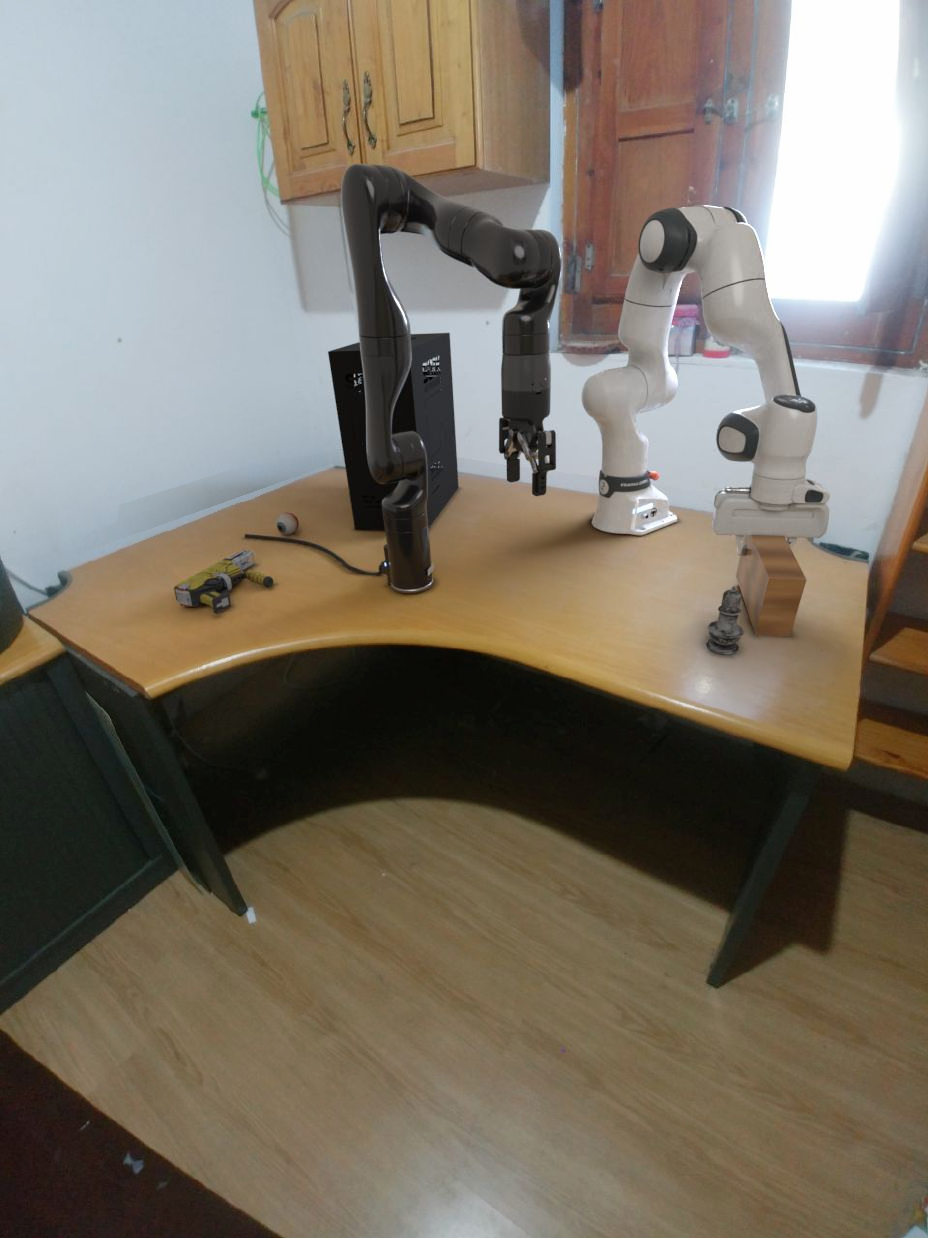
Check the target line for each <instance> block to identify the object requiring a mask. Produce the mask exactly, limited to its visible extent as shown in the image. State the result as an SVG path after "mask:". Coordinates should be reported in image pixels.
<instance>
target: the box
mask: <svg viewBox="0 0 928 1238" xmlns="http://www.w3.org/2000/svg"><path fill="white" fill-rule="evenodd" d="M742 545H746V547H747V552H746V556H739V561H738V565H737V570H736V574H735V577H736V578H735V579H736V580H737V583H738V584H737V585H738V587H739V590H740V593H741V597H742V599H743V602H744V605H745V608H746V611H747V614H748V617H749V620H750V624H751V627H752V629H753V632H754V633H753V634H754V635H759V636H760V635H762V636H775V637H776V636H777V637H791V635H792V634H791V633H792V631H793V628H794V624H795V621H796V617H797V613H798V610H799V607H800V604H801V600H802V596H803V594H804V590H805V586H806V583H807V581H808V580H807V578H806V575H805V573H804V571H803V570H802V568H801V566H800V563H799V561H798V560H797V558H796V556H795V554H794V552H793V549H792V547H791V548H790V546H789V544H788V542H787V538H786V537H785V536H768V535H751V536H744V538H743V540H742Z"/></svg>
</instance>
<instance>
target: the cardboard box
mask: <svg viewBox="0 0 928 1238" xmlns="http://www.w3.org/2000/svg"><path fill="white" fill-rule="evenodd" d="M411 349H412V351H411V352H412V362H411V367H410V370H409V373H408V376H407V378H406V381H405V383H404V385H403V388H402V390H401V392H400V394H399V396H398V399H397V401H396V404H395V407H394V411H393V417H392V433H397V432H401V431H407V430H411V431H414V432H416V433H417V434H418V435H419V436H420V437H421V439H422V441H423V443H424V446H425V450H426V456H427V477H428V498H427V502H426V507H427V519H428V529H429V528H431V526H432V524H433V523H434V522H435V520H436V519H437V517H438V516H439V515H440V513H441V512H442V511H443V510H444V508H445V507H446V506H447V504H448V503H449V501H450V500H451V499H452V497H453V496H454V495H455V494H456V492H457V491H458V490H459V488H460V487H459V471H458V455H457V454H458V453H457V438H456V437H457V436H456V421H455V418H456V417H455V404H454V403H455V401H454V384H453V383H454V382H453V369H452V367H453V366H452V349H451V333H450V332H435V333H434V332H433V333H432V332H431V333H411ZM327 355H328V361H329V367H330V374H331V382H332V388H333V395H334V401H335V408H336V414H337V420H338V427H339V433H340V440H341V447H342V455H343V460H344V465H345V466H344V467H345V474H346V480H347V486H348V487H347V488H348V493H349V500H350V507H351V513H352V520H353V527H354V530H358V531H359V530H360V531H361V530H363V531H384V532H385V527H384V519H383V512H382V500H383V499H384V497H385V496H387V495H388V494H389V493H390V492H391V491H393V490H394V488H395V487H396V486H397V484H398V483H399V481H398V482H394V483H390V484H379V483H378V482H376V481H375V479H374V478H373V476H372V474H371V472H370V469H369V465H368V460H367V449H366V400H365V388H364V377H363V367H362V360H361V352H360V341H358V342H355V343H351V344H348V345H345V346H342V347H339V348H335V349H331V350H330V351H327ZM424 364H426V365H424Z"/></svg>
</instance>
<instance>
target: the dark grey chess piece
mask: <svg viewBox="0 0 928 1238" xmlns="http://www.w3.org/2000/svg"><path fill="white" fill-rule="evenodd" d="M741 601H742V593H741V591H739V590H737V588H736V586H735V585H733V586H731V589H727V590H725V591H724V592H723V594H722V599H721V603H720V604H721V605H720V606H719V607H718V608H717V610H718V618H717V620H715V621H714V620H713V621H711V622H710V623H708V625H707V630H708V634H709V637H710V639H708V640H707V641H706V647H707V648H708V649H709V650H710V651H712V652H714V653H716V654H719V655H733V654H736V653H738V651H739V649H740V646H739V645H738V644H737V643H738V642H739V641H740V639H741V638H742V636H743V635H744V634H745V630H744V628H743V626H741V625H740V624H738V619H739V616H740V614H741V613H742V609H741V608H740V606H741Z"/></svg>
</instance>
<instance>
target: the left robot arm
mask: <svg viewBox="0 0 928 1238" xmlns="http://www.w3.org/2000/svg"><path fill="white" fill-rule="evenodd" d="M340 185H341V187H340V200H341V201H340V202H341V213H342V220H343V225H344V231H345V237H346V243H347V248H348V253H349V260H350V264H351V270H352V271H351V272H352V278H353V285H354V286H353V287H354V294H355V303H356V312H357V329H358V340H359V341H358V342H360V352H361V360H362V367H363V377H364V388H365V400H366V449H367V460H368V465H369V469H370V472H371V474H372V476H373V478H374V479H375V481H376V482H378V483H379V484H390V483H394V482H398V481H399V483H398V484H397V486H396V487H395V488H394V490H393V491H391V492H390V493H389V494H388V495H387V496H385V497H384V499H383V500H382V512H383V519H384V527H385V531H384V535H385V541H386V542H385V543H386V544H385V545H383V553H384V560H382V561H381V562H380V564H379V565H378V571H377V572H370V571H365V570H364V569H361V568H357V567H355V566H352V565H350V564H348V563H347V561H345V560H344V558H342V557H340V555H337V554H336V553H335V552H333V551H331V550H330V549H328V548H327V547H324V546H321V545H319V544H317V543H314V542H310V541H308V540H302V539H296V538H291V537H283V536H274V535H273V536H272V535H260V534H249V533H245V534H244V538H248V539H249V538H250V539H251V538H252V539H260V540H271V541H281V542H282V541H283V542H289V543H295V544H301V545H305V546H309V547H313V548H316V549H318V550H320V551H322V552H324V553H326V554H328V555H329V556H331V557H333V558H334V559H335V560H337V561H338V562H340V564H342V565H343V566H344V567H345V568H346V569H348V570H350V571H351V572H352V571H353V572H355V573H358V574H361V575H365V576H382V575H386V577H387V584H388V586H390V587H391V589H392V590H393V591H395V592H397V593H399V594H404V595H405V594H406V595H407V594H410V595H411V594H419V593H422V592H423V593H424V592H425V591H427V590H429V589H431V588H432V586H433V585H434V577H433V571H434V570H435V563H434V562H432V555H431V543H430V532H429V528H428V519H427V507H426V502H427V498H428V477H427V456H426V450H425V446H424V443H423V441H422V439H421V437H420V436H419V435H418V434H417V433H416V432H414V431H411V430H407V431H401V432H397V433H392V417H393V411H394V407H395V404H396V401H397V399H398V396H399V394H400V392H401V390H402V388H403V385H404V383H405V381H406V378H407V376H408V373H409V370H410V367H411V362H412V352H411V351H412V349H411V334H412V333H411V324H410V323H411V322H410V319H409V317H408V314H407V310H406V309H405V307H404V305H403V303H402V301H401V299H400V298H399V296H398V294H397V292H396V291H395V289H394V287H393V284H392V283H391V281H390V278H389V277H388V274H387V271H386V267H385V263H384V257H383V256H384V255H383V249H382V238H381V235H392V234H393V235H394V234H396V233H397V234H398V233H409V234H415V235H419V236H422V237H425V238H427V239H429V240H430V241H431V242H432V244H433V245H434V246H435V248H436V249H438V251H440V252H441V253H442V254H444V255H445V256H447V257H449V258H451V259H453V260H454V261H457V262H459V263H462V264H464V265H465V266H469V267H471V268H474V269H476V271H478V272H479V273H480V274H481V275H482V276H483V277H485V278H486V279H487V280H488V281H490V282H491V283H493V284H494V285H497V286H498V287H501V288H504V289H509V290H519V293H518V297H517V301H516V304H515V306H513V307H512V308H510V309H509V310H507V311H506V312H505V313H504V314H503V317H502V321H501V333H502V334H501V343H502V344H501V349H502V350H501V353H502V354H501V367H500V389H501V391H500V392H501V394H500V395H501V416H502V417H499V419H498V452H499V454H500V455H502V454H503V458H504V460H506V481H507V482H508V483H516V482H520V479H521V459H520V457H521V455H522V454H524V455H523V456H524V457H525V460H526V461H527V462H529V464H530V466H531V470H532V473H531V494H532V496H534V497H541V496H544V495H546V493H547V479H548V478H547V476H548V475H547V474H548V472H550V471H555V470H556V469H557V433H556V431H555V430H554V429H551V430H545V428H544V420H545V419H546V418H548V417H549V416H550V415H551V390H552V387H551V385H552V364H551V354H550V350H551V347H550V346H551V319H552V318H551V317H552V314H553V311H554V307H555V303H556V299H557V294H558V290H559V285H560V280H561V276H562V269H563V267H562V265H563V260H562V252H561V248H560V245H559V242H558V240H557V238H556V237H555V235H554V234H553V233H552V232H550V231H549V230H546V229H517V228H516V229H515V228H511V227H506V226H505V225H504V224H503V222H502V221H501V220H500V219H499V218H498V217H496V216H494V215H493V214H490V213H488V212H485V211H483V210H480V209H478V208H475V207H472V206H470V205H468V204H464V203H461V202H458V201H455V200H453V199H450V198H448V197H445V196H443V195H441V194H439V193H437V192H435V191H433V190H432V189H430V188H428V187H427V186H426V185H424V184H422V183H421V182H420V181H418V180H417V179H416V178H414V177H413V176H411V175H410V174H408V173H407V172H405V171H403V170H402V169H400V168H398V167H396V166H393V165H386V164H384V165H383V164H371V163H354V164H350V165H349V166H348V167H347V168H346V169H345V171H344V173H343V176H342V180H341V184H340Z"/></svg>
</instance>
